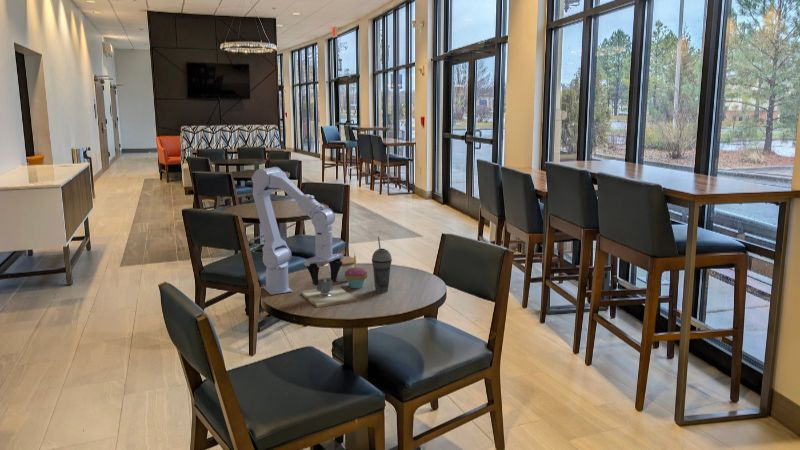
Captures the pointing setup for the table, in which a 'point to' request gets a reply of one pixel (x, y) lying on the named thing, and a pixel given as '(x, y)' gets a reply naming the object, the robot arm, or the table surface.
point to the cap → (325, 285)
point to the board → (336, 297)
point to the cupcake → (355, 276)
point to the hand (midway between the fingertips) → (324, 282)
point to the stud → (324, 294)
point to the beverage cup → (381, 269)
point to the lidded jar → (343, 268)
